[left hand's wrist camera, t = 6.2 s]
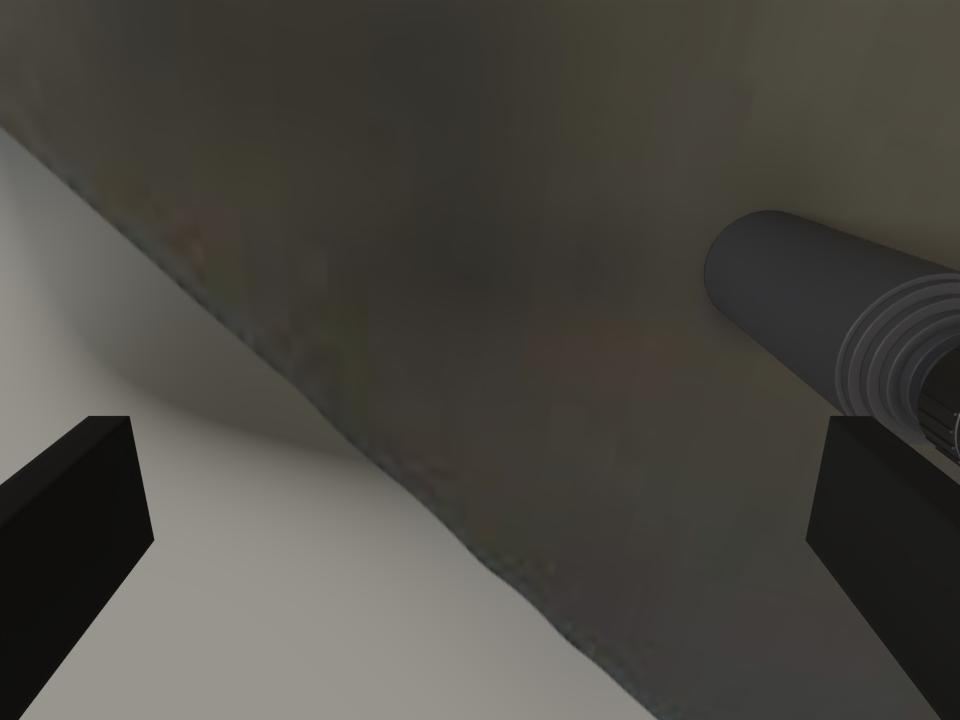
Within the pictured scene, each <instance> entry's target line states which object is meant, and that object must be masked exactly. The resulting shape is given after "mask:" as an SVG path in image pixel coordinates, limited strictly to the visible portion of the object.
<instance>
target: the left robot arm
mask: <svg viewBox="0 0 960 720" xmlns="http://www.w3.org/2000/svg"><path fill="white" fill-rule="evenodd" d="M153 541H154V536H153V531H152V526H151V521H150V516H149V511H148V506H147V501H146V496H145V491H144V486H143V481H142V476H141V471H140V466H139V461H138V456H137V451H136V446H135V441H134V436H133V431H132V426H131V421H130V417H129V416H88V417H87V418H85V419H84V420H83V421H82V422H80V423H79V424H78V425H77V426H75V427H74V428H73V429H71V430H70V431H69V432H68V433H66V434H65V435H64V436H62V437H61V438H60V439H59V440H57V441H56V442H55V443H54V444H52V445H51V446H50V447H48V448H47V449H46V450H45V451H43V452H42V453H41V454H39V455H38V456H37V457H36V458H34V459H33V460H32V461H31V462H29V463H28V464H27V465H25V466H24V467H23V468H22V469H20V470H19V471H18V472H16V473H15V474H14V475H13V476H11V477H10V478H9V479H8V480H6V481H5V482H4V483H2V484H1V485H0V720H19V719H20V717H21V716H22V715H23V713H24V712H25V711H26V709H27V708H28V707H29V705H30V704H31V703H32V701H33V700H34V699H35V698H36V696H37V695H38V694H39V692H40V691H41V690H42V688H43V687H44V686H45V684H46V683H47V682H48V680H49V679H50V678H51V676H52V675H53V674H54V672H55V671H56V670H57V668H58V667H59V666H60V664H61V663H62V662H63V660H64V659H65V658H66V656H67V655H68V654H69V653H70V651H71V650H72V649H73V647H74V646H75V645H76V643H77V642H78V641H79V639H80V638H81V637H82V635H83V634H84V633H85V631H86V630H87V629H88V627H89V626H90V625H91V623H92V622H93V621H94V619H95V618H96V617H97V615H98V614H99V613H100V611H101V610H102V609H103V607H104V606H105V605H106V604H107V602H108V601H109V600H110V598H111V597H112V595H113V594H114V593H115V592H116V590H117V589H118V588H119V586H120V585H121V584H122V582H123V581H124V580H125V578H126V577H127V576H128V574H129V573H130V572H131V570H132V569H133V568H134V566H135V565H136V564H137V563H138V561H139V560H140V559H141V557H142V556H143V555H144V553H145V552H146V551H147V549H148V548H149V547H150V545H151V544H152V543H153ZM806 541H807V543H808V544H809V545H810V547H811V548H812V549H813V551H814V552H815V553H816V555H817V556H818V557H819V559H820V560H821V561H822V563H823V564H824V565H825V566H826V568H827V569H828V570H829V572H830V573H831V574H832V576H833V577H834V578H835V580H836V581H837V582H838V584H839V585H840V586H841V588H842V589H843V590H844V592H845V593H846V594H847V596H848V597H849V598H850V600H851V601H852V602H853V604H854V605H855V606H856V608H857V609H858V610H859V611H860V613H861V614H862V615H863V617H864V618H865V619H866V621H867V622H868V623H869V625H870V626H871V627H872V629H873V630H874V631H875V633H876V634H877V635H878V637H879V638H880V639H881V641H882V642H883V643H884V645H885V646H886V647H887V649H888V650H889V651H890V653H891V654H892V655H893V656H894V658H895V659H896V660H897V662H898V663H899V664H900V666H901V667H902V668H903V670H904V671H905V672H906V674H907V675H908V676H909V678H910V679H911V680H912V682H913V683H914V684H915V686H916V687H917V688H918V690H919V691H920V692H921V694H922V695H923V696H924V698H925V699H926V700H927V701H928V703H929V704H930V705H931V707H932V708H933V709H934V711H935V712H936V713H937V715H938V716H939V717H940V719H941V720H960V485H959V484H958V483H956V482H955V481H954V480H952V479H951V478H950V477H949V476H947V475H946V474H945V473H944V472H942V471H941V470H940V469H938V468H937V467H936V466H935V465H933V464H932V463H931V462H930V461H928V460H927V459H926V458H924V457H923V456H922V455H921V454H919V453H918V452H917V451H915V450H914V449H913V448H912V447H910V446H909V445H908V444H907V443H905V442H904V441H903V440H901V439H900V438H899V437H898V436H896V435H895V434H894V433H892V432H891V431H890V430H889V429H887V428H886V427H885V426H884V425H882V424H881V423H880V422H878V421H877V420H876V419H875V418H873V417H872V416H830V421H829V426H828V431H827V436H826V441H825V446H824V451H823V456H822V461H821V466H820V471H819V476H818V481H817V486H816V491H815V496H814V501H813V506H812V511H811V516H810V521H809V526H808V531H807V536H806Z"/></svg>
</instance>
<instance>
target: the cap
mask: <svg viewBox="0 0 960 720" xmlns="http://www.w3.org/2000/svg"><path fill="white" fill-rule="evenodd" d="M917 416H918V421H919V426H920V427H921V429H922V431H923V433H924V435H925V436H926V437H925V438H926V439H927V440H928V441H930V442H931V443H932V444H934V445H935V446H936V447H935V448H936V449H937V450H938V451H940V452H941V453H942V454H944V455H945V456H946V457H948V458H949V459H950V460H952V461H953V462H954V463H956V464H957V465H958V466H960V344H959V345H957V346H956V347H954V348H953V349H951V350H950V351H949V352H947V353H946V354H945V355H944V356H943V357H942V358H941V359H940V360H939V361H938V362H937V363H936V364H935V365H934V366H933V368H932V369H931V370H930V372H929V373H928V375H927V377H926V378H925V380H924V382H923V384H922V387H921V389H920V392H919V396H918V402H917Z"/></svg>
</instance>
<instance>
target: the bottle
mask: <svg viewBox="0 0 960 720" xmlns="http://www.w3.org/2000/svg"><path fill="white" fill-rule="evenodd" d="M704 277H705V286H706V289H707V293H708V295H709V297H710V299H711V301H712V302H713V304H714V305H715V306H716V307H717V308H718V310H720V311H721V312H722V313H723V314H724V315H725V316H727V317H728V318H729V319H730V320H731V321H733V322H734V323H735V324H736V325H737V326H739V327H740V328H741V329H742V330H743V331H745V332H746V333H747V334H748V335H749V336H750V337H752V338H753V339H754V340H755V341H756V342H758V343H759V344H760V345H761V346H762V347H764V348H765V349H766V350H767V351H768V352H770V353H771V354H772V355H773V356H774V357H775V358H777V359H778V360H779V361H780V362H781V363H783V364H784V365H785V366H786V367H787V368H789V369H790V370H791V371H792V372H793V373H795V374H796V375H797V376H798V377H799V378H800V379H802V380H803V381H804V382H805V383H806V384H808V385H809V386H810V387H811V388H812V389H814V390H815V391H816V392H817V393H818V394H820V395H821V396H822V397H823V398H824V399H825V400H827V401H828V402H829V403H830V404H831V405H833V406H834V407H835V408H836V409H837V410H839V411H840V412H841V413H842V414H843V415H844V416H872V417H873V418H875V419H876V420H877V421H878V422H880V423H881V424H882V425H884V426H885V427H886V428H887V429H889V430H890V431H891V432H892V433H894V434H895V435H896V436H898V437H899V438H900V439H901V440H903V441H904V442H905V443H907V444H929V443H931V442H930V441H928V440H927V439H926V438H925V437H926V436H925V435H924V433H923V431H922V429H921V427H920V426H919V421H918V416H917V402H918V396H919V392H920V389H921V387H922V384H923V382H924V380H925V378H926V377H927V375H928V373H929V372H930V370H931V369H932V368H933V366H934V365H935V364H936V363H937V362H938V361H939V360H940V359H941V358H942V357H943V356H944V355H945V354H946V353H947V352H949V351H950V350H951V349H953V348H954V347H956V346H957V345H959V344H960V272H959V271H957V270H954V269H951V268H948V267H945V266H942V265H939V264H936V263H933V262H930V261H927V260H924V259H921V258H918V257H915V256H912V255H909V254H906V253H903V252H900V251H897V250H894V249H892V248H889V247H886V246H883V245H880V244H877V243H874V242H871V241H868V240H865V239H862V238H859V237H856V236H853V235H850V234H847V233H844V232H841V231H838V230H835V229H832V228H829V227H827V226H824V225H821V224H818V223H815V222H812V221H809V220H806V219H803V218H800V217H797V216H794V215H791V214H788V213H784V212H780V211H761V212H756V213H752V214H749V215H747V216H744V217H742V218H740V219H739V220H737V221H735V222H734V223H732V224H731V225H730V226H728V227H727V228H726V229H725V230H724V231H723V232H722V233H721V234H720V235H719V237H718V238H717V239H716V241H715V242H714V244H713V246H712V247H711V249H710V252H709V254H708V257H707V260H706V264H705V272H704Z"/></svg>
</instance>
